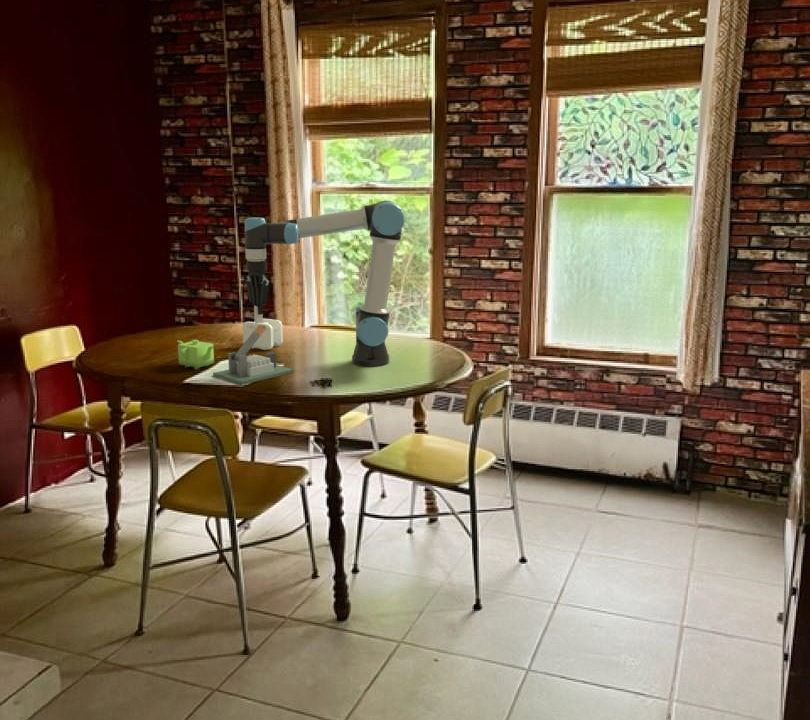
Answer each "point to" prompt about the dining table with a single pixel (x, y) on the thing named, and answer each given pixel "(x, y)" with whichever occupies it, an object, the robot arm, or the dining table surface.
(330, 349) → the dining table surface
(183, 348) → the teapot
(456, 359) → the dining table surface
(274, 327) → the cable organizer
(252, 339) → the orange-tipped flat strip
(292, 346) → the dining table surface
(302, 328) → the dining table surface
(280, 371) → the heatsink board
